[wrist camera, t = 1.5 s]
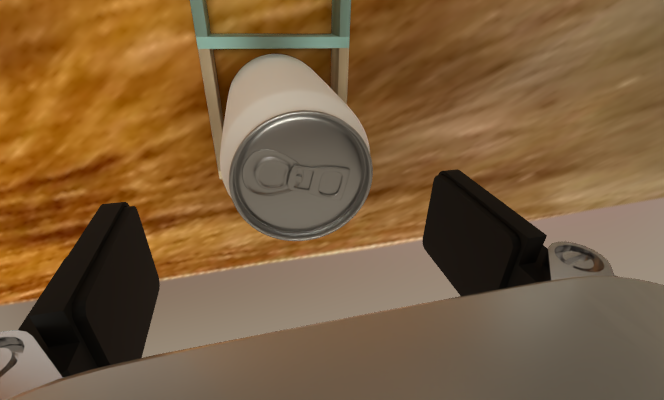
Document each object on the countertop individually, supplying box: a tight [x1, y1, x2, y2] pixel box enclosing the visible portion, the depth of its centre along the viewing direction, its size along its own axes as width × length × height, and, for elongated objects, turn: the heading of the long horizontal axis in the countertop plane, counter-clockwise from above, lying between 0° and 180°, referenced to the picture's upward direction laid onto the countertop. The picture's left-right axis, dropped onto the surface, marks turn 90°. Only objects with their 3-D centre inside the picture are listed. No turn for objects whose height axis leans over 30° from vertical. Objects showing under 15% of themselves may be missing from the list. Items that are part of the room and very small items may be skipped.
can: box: [220, 54, 373, 241], centre depth 18 cm, size 6×6×12 cm
